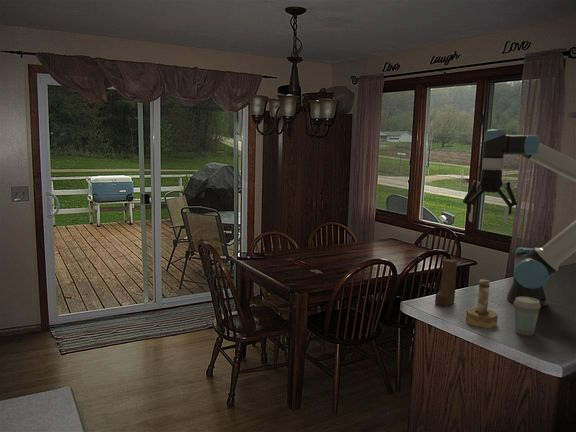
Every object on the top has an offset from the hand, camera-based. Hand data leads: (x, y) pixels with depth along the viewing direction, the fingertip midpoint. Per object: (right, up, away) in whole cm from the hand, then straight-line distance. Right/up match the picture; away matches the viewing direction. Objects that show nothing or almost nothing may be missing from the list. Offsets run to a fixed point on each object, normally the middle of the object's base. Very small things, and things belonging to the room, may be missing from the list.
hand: (488, 221), depth 194 cm
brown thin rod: (-7, -36, -5) cm, 37 cm away
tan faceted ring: (-9, -37, -16) cm, 41 cm away
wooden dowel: (-9, -37, -16) cm, 41 cm away
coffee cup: (+3, -39, -24) cm, 46 cm away
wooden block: (-16, -34, +6) cm, 38 cm away
